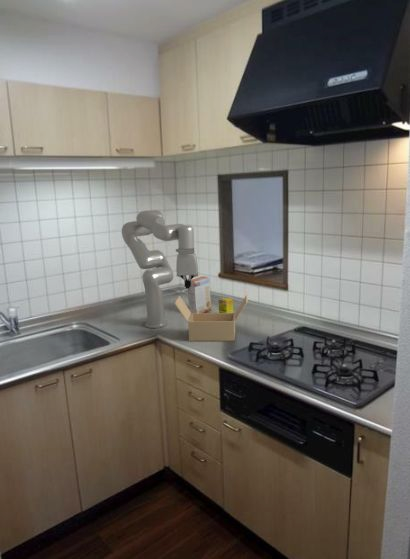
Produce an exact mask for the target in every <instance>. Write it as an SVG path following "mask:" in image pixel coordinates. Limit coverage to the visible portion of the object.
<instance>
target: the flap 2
mask: <svg viewBox="0 0 410 559" xmlns="http://www.w3.org/2000/svg"><path fill="white" fill-rule="evenodd" d="M247 304H248V294H246V295H245V297H244V298H243V300H242V301H241V302H240V305H239V306H238V308H237V309H236V311H235V312H234V313H235V320H234V321H235V322H237V319H238V318H239V317H240V315H241V313H242V312H243V310H244V308H245V307H246V305H247Z"/></svg>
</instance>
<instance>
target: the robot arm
mask: <svg viewBox="0 0 410 559" xmlns="http://www.w3.org/2000/svg"><path fill="white" fill-rule="evenodd" d="M194 230H195V229H194V226H192V225H185V224H183V223H176V224H167V225H166V222H165V219H164V215H163V213H162V212H161V211H160V210H158V209H152V210H151V209H150V210H143V211H141V212H139V213H137V215H136V220H134V221H128V222H126V223H124V224H123V225H122V227H121V235H122V236H121V237H122V239H123V241H124V242H125V244H126V246H127V247H128V249H129V250H130V252H131V253H132V256H133V258H134V260H135V261H136V263H137V266H138V267H139V268H140V269H141V270H145V271H144V272H143V273H142V283H143V288H144V292H145V305H146V317H140V318H139V321H140V322H142V323H144V327H146V328H149V329H160V328H164V327H167V325H168V324H169V322H168V320H166V319H165V318H166V317H165V316H166V315H165V304H164V293H163V290H162V289H161V287H160V286H161V285H164V284H168V283H171V282H172V281H173V279H174V272H173V270H172V268H171V265H170V263H169V261H168V260H167V257H166V256H165V255H164V253H163V252H162V251H161V250H159V249H156V250H155V249H153V250H149V249H148V247H147V246H146V244H145V242H143V241H142V240H141V239H140V238H138V237H144V236H151V234H152V235H153V237H155V238H156V239H158V240H160V241H162V242H170V241H177V240H178V248H175V252H176V253H178V254H177V255H176V264H175V265H176V270H175V271H176V277H178V278H181V280H183V281H184V283H183V284H184V287H185V290H188V289H189V288H190V287H191V280H193V279H194V278H198V276H199V272H198V271H199V270H198V269H199V267H198V259H197V255H196V253H195V234H194V233H195V232H194ZM187 276H188V278H187Z"/></svg>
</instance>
